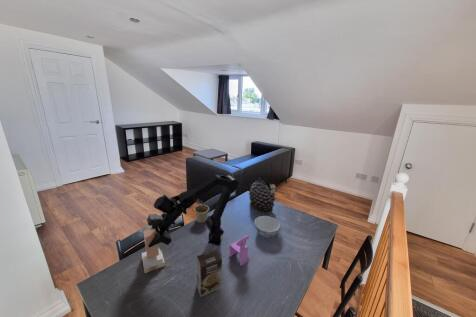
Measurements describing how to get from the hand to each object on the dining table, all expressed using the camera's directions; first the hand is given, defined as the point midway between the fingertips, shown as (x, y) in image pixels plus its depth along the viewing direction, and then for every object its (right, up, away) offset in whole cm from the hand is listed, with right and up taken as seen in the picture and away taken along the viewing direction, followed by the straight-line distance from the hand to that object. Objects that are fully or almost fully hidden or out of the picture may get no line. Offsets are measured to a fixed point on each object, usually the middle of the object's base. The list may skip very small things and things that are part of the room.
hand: (148, 243), depth 93 cm
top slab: (0, -10, +4) cm, 11 cm away
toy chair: (+42, -12, +11) cm, 45 cm away
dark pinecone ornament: (+58, +2, +55) cm, 80 cm away
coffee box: (+29, -17, -5) cm, 34 cm away
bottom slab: (0, -12, +5) cm, 13 cm away
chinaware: (+58, -7, +30) cm, 66 cm away
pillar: (+1, -6, +3) cm, 7 cm away
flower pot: (+18, -1, +39) cm, 43 cm away
